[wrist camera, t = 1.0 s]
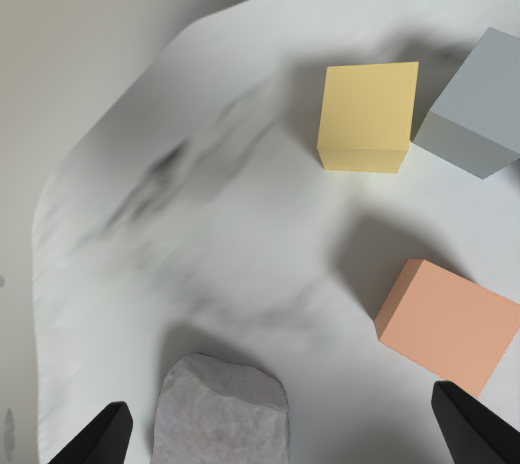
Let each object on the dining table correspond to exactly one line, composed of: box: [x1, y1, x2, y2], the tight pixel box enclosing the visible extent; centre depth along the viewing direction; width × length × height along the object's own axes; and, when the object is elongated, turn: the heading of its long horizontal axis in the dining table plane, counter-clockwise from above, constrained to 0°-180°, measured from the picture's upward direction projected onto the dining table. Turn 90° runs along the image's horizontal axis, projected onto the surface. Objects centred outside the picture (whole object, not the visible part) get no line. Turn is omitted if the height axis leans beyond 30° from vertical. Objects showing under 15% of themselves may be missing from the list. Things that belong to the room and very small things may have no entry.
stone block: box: [150, 353, 290, 464], centre depth 22 cm, size 12×5×10 cm
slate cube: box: [412, 27, 520, 179], centre depth 17 cm, size 5×5×5 cm
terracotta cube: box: [374, 258, 520, 398], centre depth 17 cm, size 5×5×5 cm
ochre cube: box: [317, 62, 419, 173], centre depth 19 cm, size 5×5×5 cm
